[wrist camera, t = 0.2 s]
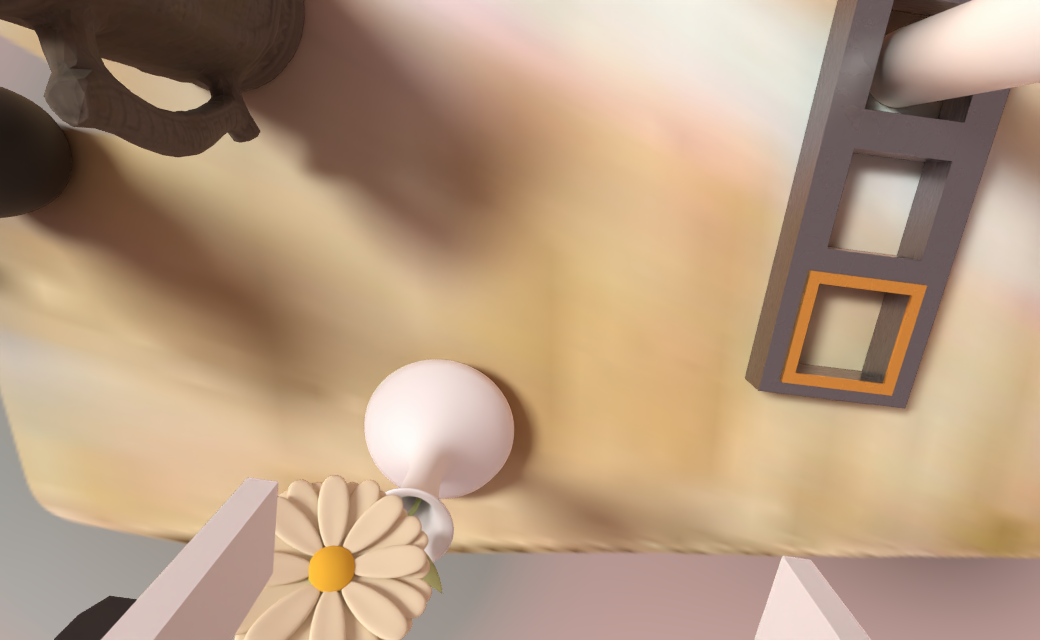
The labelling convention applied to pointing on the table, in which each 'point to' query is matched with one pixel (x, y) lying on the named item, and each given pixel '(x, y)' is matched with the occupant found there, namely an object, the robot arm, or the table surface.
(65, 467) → the table surface
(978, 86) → the pin
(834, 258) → the rail
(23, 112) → the cola bottle
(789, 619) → the robot arm
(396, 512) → the flower in vase
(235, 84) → the beer stein
